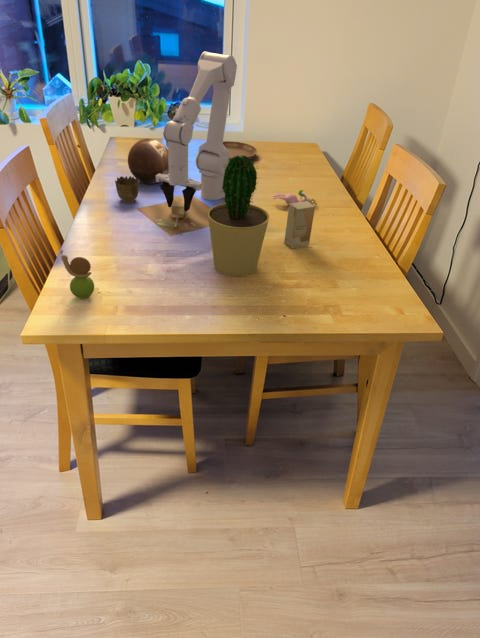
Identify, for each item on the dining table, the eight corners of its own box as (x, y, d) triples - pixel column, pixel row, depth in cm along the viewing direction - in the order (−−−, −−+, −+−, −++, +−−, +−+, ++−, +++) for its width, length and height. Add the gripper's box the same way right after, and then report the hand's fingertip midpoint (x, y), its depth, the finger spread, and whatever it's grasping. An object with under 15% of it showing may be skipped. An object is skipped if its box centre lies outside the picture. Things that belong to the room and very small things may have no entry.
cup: (135, 209, 164) (133, 185, 159) (113, 206, 165) (111, 182, 160) (143, 201, 170) (142, 177, 165) (122, 198, 171) (120, 174, 166)
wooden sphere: (160, 193, 176) (159, 148, 168) (121, 185, 180) (118, 142, 171) (178, 179, 188) (178, 137, 179) (141, 172, 191) (139, 131, 183)
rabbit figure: (312, 206, 178) (270, 198, 175) (317, 189, 175) (274, 181, 172) (315, 213, 173) (273, 205, 170) (321, 196, 170) (277, 188, 167)
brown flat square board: (194, 200, 173) (194, 196, 172) (231, 224, 158) (231, 220, 158) (136, 211, 162) (136, 208, 162) (170, 239, 148) (170, 235, 147)
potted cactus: (245, 287, 129) (253, 169, 112) (195, 268, 135) (195, 154, 118) (274, 263, 140) (286, 152, 123) (227, 247, 146) (232, 139, 129)
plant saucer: (256, 166, 205) (257, 158, 203) (204, 163, 204) (205, 155, 202) (256, 150, 222) (256, 142, 220) (208, 147, 221) (208, 140, 219)
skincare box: (291, 249, 147) (296, 209, 140) (283, 243, 150) (288, 203, 143) (310, 245, 150) (316, 205, 143) (301, 239, 153) (307, 200, 146)
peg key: (187, 209, 163) (187, 196, 161) (182, 229, 151) (182, 215, 149) (173, 208, 163) (173, 195, 161) (167, 228, 151) (167, 214, 149)
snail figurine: (69, 290, 123) (62, 245, 116) (96, 290, 124) (91, 245, 117) (65, 302, 119) (57, 256, 112) (93, 302, 120) (87, 256, 113)
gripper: (149, 163, 150) (151, 207, 158) (194, 172, 146) (193, 217, 154) (161, 157, 155) (163, 199, 163) (205, 165, 151) (204, 209, 159)
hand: (178, 208), depth 159 cm, fingers closed on peg key, 5 cm apart
